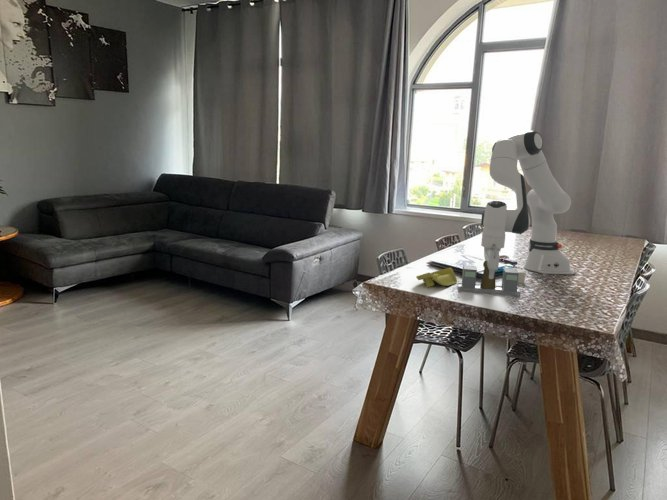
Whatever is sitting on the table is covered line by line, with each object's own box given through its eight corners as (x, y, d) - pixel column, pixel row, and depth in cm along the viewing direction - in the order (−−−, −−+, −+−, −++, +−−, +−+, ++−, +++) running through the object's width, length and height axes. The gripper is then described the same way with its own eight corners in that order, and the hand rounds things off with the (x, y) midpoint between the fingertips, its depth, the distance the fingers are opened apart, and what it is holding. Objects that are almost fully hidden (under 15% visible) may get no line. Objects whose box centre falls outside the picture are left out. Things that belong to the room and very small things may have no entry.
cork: (496, 285, 203) (498, 259, 200) (494, 289, 197) (497, 263, 195) (481, 283, 205) (483, 258, 202) (479, 287, 199) (481, 261, 197)
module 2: (514, 287, 202) (516, 268, 200) (516, 292, 195) (518, 273, 193) (501, 286, 203) (503, 267, 201) (503, 291, 196) (505, 272, 194)
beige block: (519, 280, 219) (520, 269, 218) (524, 283, 214) (525, 272, 213) (510, 280, 219) (511, 269, 218) (515, 283, 214) (516, 272, 213)
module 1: (474, 284, 205) (475, 265, 204) (475, 289, 198) (476, 270, 197) (461, 283, 206) (463, 264, 205) (462, 288, 199) (464, 269, 198)
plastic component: (433, 272, 220) (453, 266, 214) (438, 288, 219) (458, 282, 213) (411, 277, 205) (432, 271, 199) (417, 294, 204) (437, 289, 198)
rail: (517, 291, 202) (518, 286, 202) (520, 296, 195) (520, 291, 195) (457, 286, 207) (458, 282, 207) (458, 291, 200) (458, 286, 200)
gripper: (504, 248, 186) (500, 283, 189) (498, 238, 206) (495, 270, 209) (487, 247, 187) (483, 281, 190) (482, 237, 207) (479, 268, 210)
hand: (489, 275), depth 200 cm, fingers open, 8 cm apart
